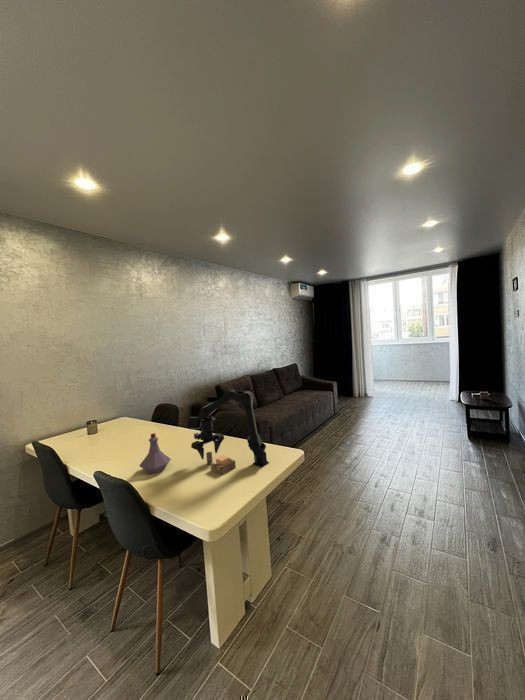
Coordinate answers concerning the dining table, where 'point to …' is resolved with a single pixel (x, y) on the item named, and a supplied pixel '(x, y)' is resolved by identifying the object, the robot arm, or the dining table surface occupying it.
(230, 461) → the dark brown open box
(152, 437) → the flask
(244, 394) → the robot arm
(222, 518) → the dining table surface
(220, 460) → the tethered block
